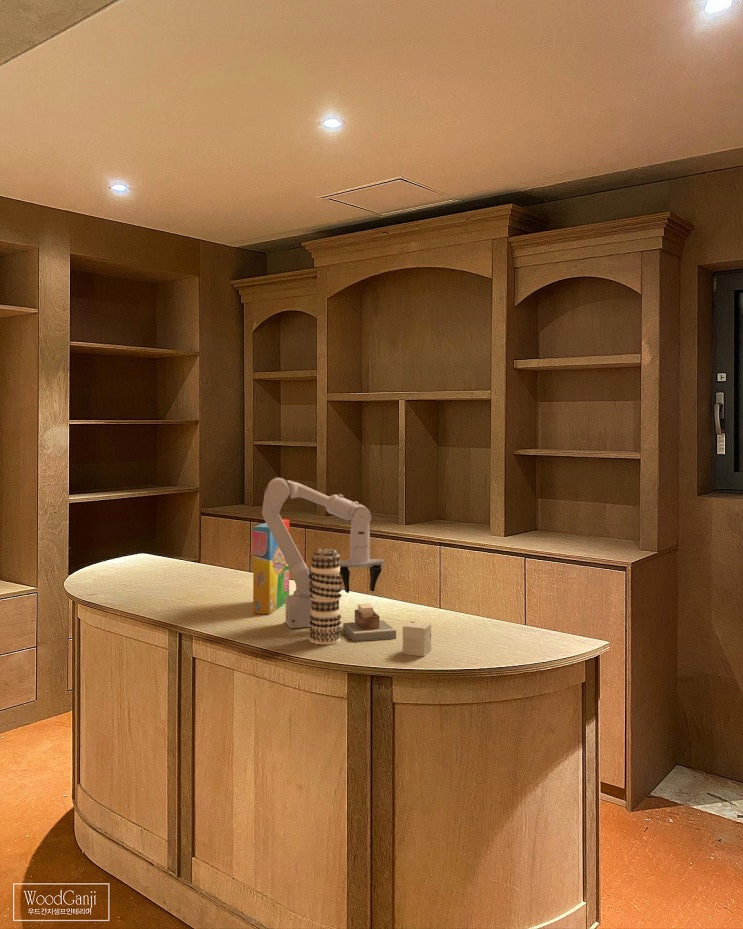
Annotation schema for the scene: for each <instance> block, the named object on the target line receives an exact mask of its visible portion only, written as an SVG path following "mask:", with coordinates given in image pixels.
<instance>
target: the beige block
mask: <svg viewBox="0 0 743 929" xmlns="http://www.w3.org/2000/svg"><path fill="white" fill-rule="evenodd" d="M357 610H358V612H359V613H360V614H361V615H362V616H363V617H368V616H373V611H374V607H373V606H372V605H371V604H370V603H357Z"/></svg>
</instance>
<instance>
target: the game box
mask: <svg viewBox="0 0 743 929" xmlns="http://www.w3.org/2000/svg"><path fill="white" fill-rule="evenodd" d="M282 520H283V522H284V524H285V526H286V528H287V530H288V532H289V533H290V519H286V518H285V519H284V518H283V519H282ZM252 530H253V532H252V533H253V537H252V538H253V542H252V543H253V548H252V550H253V552H252V554H253V558H252V559H253V567H252V568H253V569H252V570H253V573H252V574H253V575H252V576H253V577H252V578H253V579H252V581H253V582H252V583H253V586H252V590H253V591H252V598H253V599H252V613H253V614H258V615H270V614H271V613H273V612H275V611H276V610H277V609H279V608H280V607H281V606H283V605H284V604H286V596H289V595H290V567H289V566H288V564H287V562H286V560H285V558H284V556H283V554H282V552H281V550H280V548H279V546H278V544H277V543H276V541H275V539H274V537H273V535H272V533H271V531H270V529H269V527H268V525H267V523H266V522H264V523H261V524H258V525H255V526H253V529H252Z"/></svg>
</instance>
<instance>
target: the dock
mask: <svg viewBox="0 0 743 929" xmlns="http://www.w3.org/2000/svg"><path fill="white" fill-rule="evenodd" d="M342 629H343V631H344V632H345V633H346V634H347V635H348V636H349V638H351V639H352V640H353V642H358V641H357V640H365V641H376V640H378V641H379V640H391V639H397V629H396V628H393V627H392V626H391V625H390V624H389V623H387V622H386V621H385V620H384V619H382V620H379V628H375V629H361V628H360V627H359V625H358V624H357V623H356V622H355V621H354V622H343V623H342Z"/></svg>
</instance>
